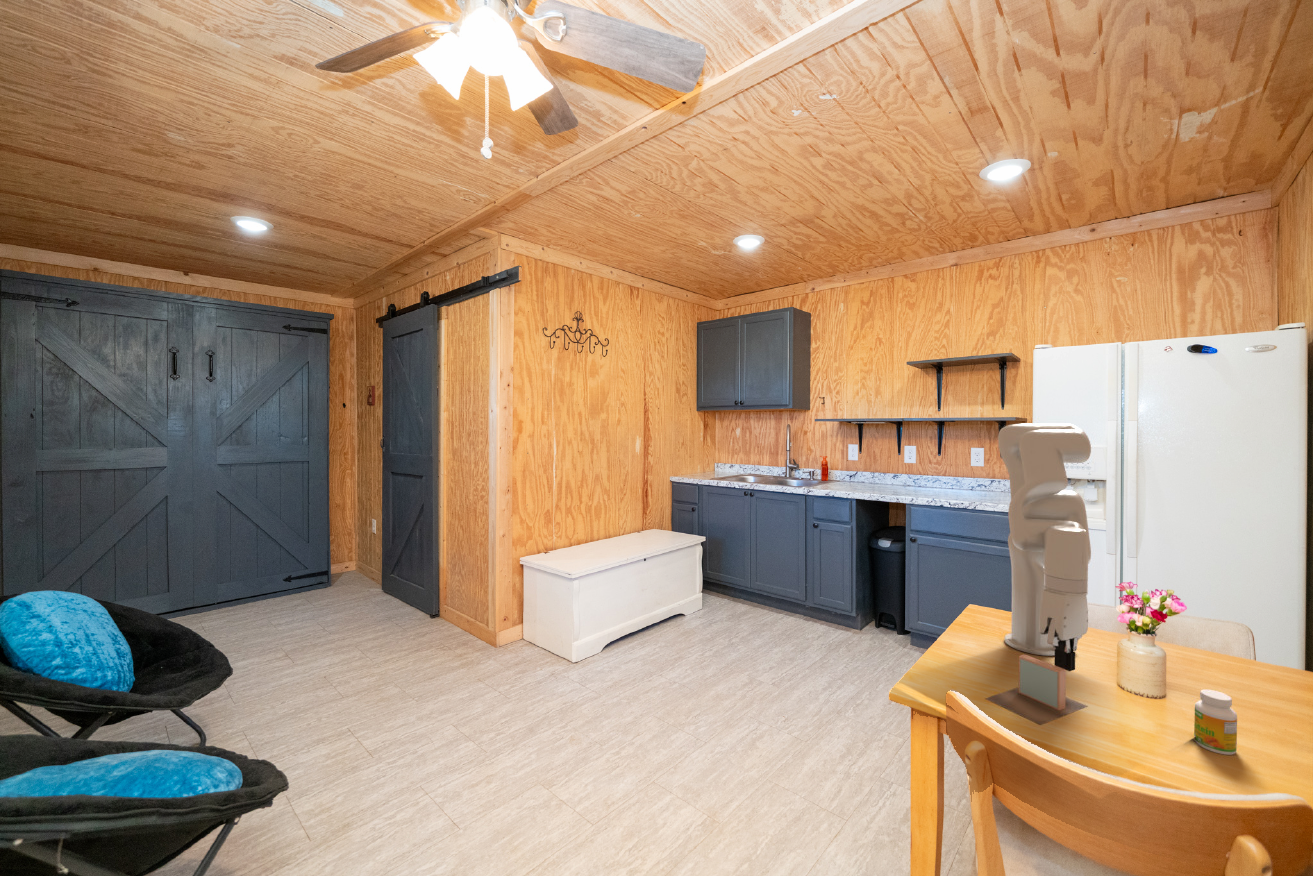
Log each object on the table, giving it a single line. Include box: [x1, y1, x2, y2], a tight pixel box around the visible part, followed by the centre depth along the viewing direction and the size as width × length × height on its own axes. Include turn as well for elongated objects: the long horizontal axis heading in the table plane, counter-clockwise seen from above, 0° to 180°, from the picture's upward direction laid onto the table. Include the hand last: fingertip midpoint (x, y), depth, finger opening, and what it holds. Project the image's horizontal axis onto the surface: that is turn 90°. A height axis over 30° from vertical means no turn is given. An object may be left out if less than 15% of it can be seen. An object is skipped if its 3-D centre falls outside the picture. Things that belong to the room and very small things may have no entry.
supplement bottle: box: [1193, 688, 1238, 756], centre depth 98 cm, size 5×5×10 cm
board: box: [984, 686, 1088, 726], centre depth 111 cm, size 16×11×1 cm
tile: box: [1018, 654, 1067, 710], centre depth 112 cm, size 2×8×8 cm, turn 25°
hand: (1064, 668), depth 115 cm, fingers closed
